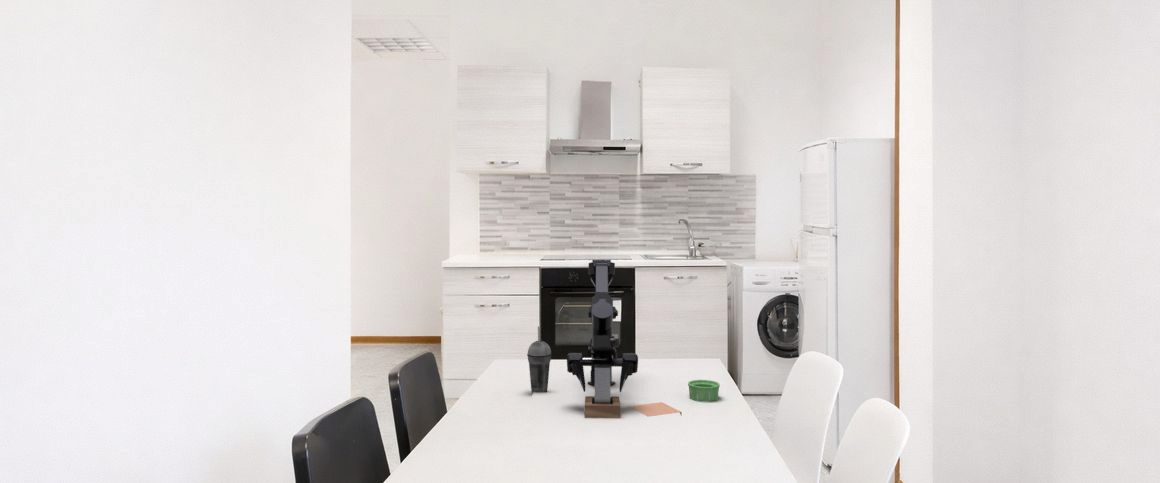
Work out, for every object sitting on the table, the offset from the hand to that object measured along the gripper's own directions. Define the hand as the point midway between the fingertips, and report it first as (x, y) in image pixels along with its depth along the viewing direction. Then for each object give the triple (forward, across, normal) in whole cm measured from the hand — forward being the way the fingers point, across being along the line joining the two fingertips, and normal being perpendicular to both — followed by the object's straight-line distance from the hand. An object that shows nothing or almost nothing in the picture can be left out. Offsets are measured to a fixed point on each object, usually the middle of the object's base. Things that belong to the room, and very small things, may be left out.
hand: (602, 391), depth 160 cm
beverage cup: (-12, -18, +22) cm, 31 cm away
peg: (+3, 0, +5) cm, 6 cm away
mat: (+1, +14, +8) cm, 16 cm away
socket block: (+4, 0, +6) cm, 7 cm away
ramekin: (-9, +29, +19) cm, 36 cm away
